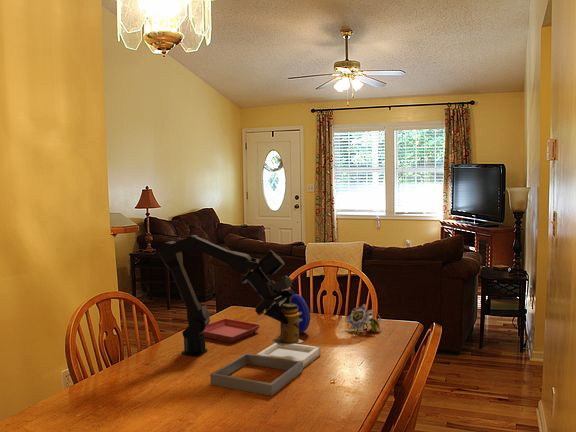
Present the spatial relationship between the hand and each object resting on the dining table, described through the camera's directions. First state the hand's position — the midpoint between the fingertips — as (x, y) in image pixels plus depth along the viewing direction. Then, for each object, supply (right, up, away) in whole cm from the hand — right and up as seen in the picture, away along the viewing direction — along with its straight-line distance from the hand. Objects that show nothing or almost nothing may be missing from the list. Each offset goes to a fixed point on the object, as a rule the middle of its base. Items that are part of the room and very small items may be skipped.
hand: (291, 321), depth 169 cm
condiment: (-1, -7, +1) cm, 7 cm away
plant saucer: (-24, -12, +29) cm, 40 cm away
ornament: (+2, -11, +30) cm, 32 cm away
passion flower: (+28, -10, +33) cm, 44 cm away
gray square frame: (-10, -14, -15) cm, 23 cm away
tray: (-1, -12, +1) cm, 13 cm away
